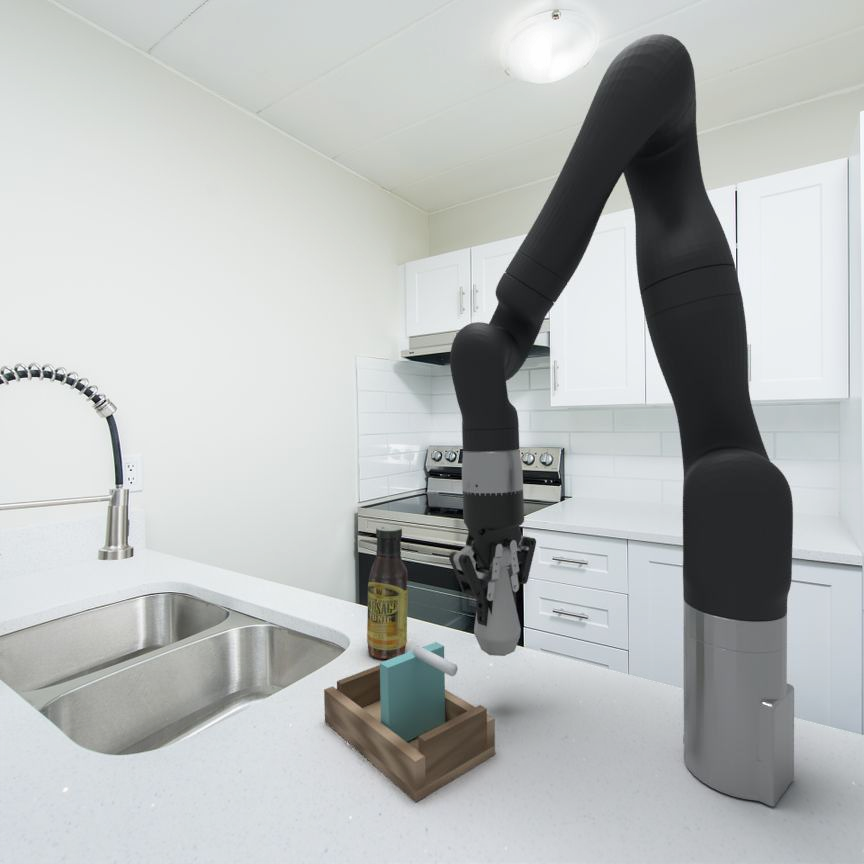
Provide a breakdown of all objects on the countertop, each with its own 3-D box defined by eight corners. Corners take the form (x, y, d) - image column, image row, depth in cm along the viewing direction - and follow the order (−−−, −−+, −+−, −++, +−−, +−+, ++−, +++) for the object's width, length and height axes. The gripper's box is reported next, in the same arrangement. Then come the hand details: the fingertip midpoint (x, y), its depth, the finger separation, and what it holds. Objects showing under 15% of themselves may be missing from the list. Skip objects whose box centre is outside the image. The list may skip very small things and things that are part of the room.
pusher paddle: (481, 746, 57) (480, 652, 57) (424, 779, 52) (422, 677, 52) (437, 716, 63) (435, 631, 63) (381, 744, 58) (379, 652, 58)
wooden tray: (495, 754, 58) (494, 704, 58) (416, 802, 51) (415, 746, 51) (397, 690, 72) (396, 650, 72) (324, 721, 65) (323, 677, 65)
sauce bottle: (360, 657, 82) (357, 529, 81) (379, 641, 88) (376, 522, 87) (398, 664, 79) (396, 532, 79) (415, 647, 85) (413, 524, 85)
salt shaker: (520, 660, 63) (516, 551, 63) (472, 658, 64) (468, 551, 64) (522, 640, 69) (518, 540, 68) (478, 638, 70) (474, 540, 70)
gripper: (473, 495, 59) (479, 650, 59) (552, 482, 68) (556, 617, 68) (429, 490, 64) (435, 632, 65) (507, 479, 73) (512, 603, 74)
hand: (497, 623), depth 66 cm, fingers closed on salt shaker, 3 cm apart
